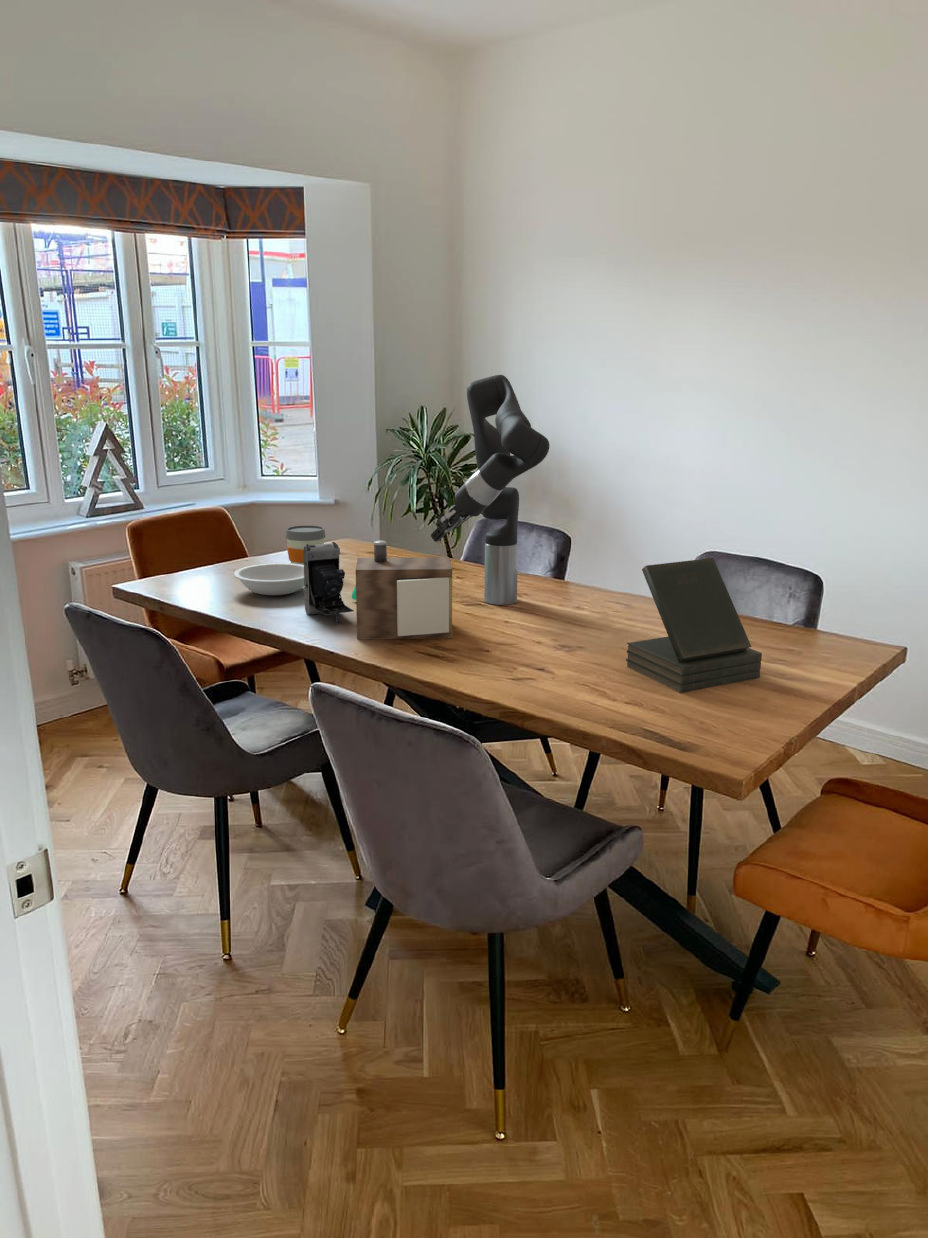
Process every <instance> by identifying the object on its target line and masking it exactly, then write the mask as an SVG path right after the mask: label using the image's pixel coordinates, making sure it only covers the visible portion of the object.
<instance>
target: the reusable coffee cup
mask: <svg viewBox="0 0 928 1238" xmlns="http://www.w3.org/2000/svg"><path fill="white" fill-rule="evenodd" d="M325 538H326V532H325V527H324V526H320V525H311V524H310V525H307V524H303V525H302V524H300V525H293V526H289V527H288V526H287V527H286V529H285V539H286V542H287V545H286V548H287V549H286V550H287V555H288V561H289V562H290V563H292V564H301V565H304V556H303V554H304V546H306V544H308V545H319V544H325Z"/></svg>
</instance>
